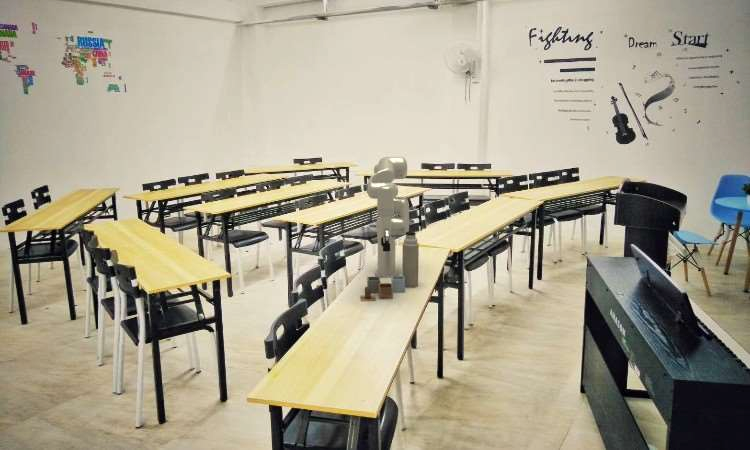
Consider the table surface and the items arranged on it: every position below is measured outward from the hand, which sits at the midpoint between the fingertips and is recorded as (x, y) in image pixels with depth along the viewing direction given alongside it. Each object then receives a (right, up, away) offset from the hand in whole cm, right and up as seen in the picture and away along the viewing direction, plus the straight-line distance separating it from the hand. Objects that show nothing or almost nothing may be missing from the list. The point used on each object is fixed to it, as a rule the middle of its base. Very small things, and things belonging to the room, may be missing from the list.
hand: (385, 248), depth 251 cm
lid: (-8, -25, +3) cm, 26 cm away
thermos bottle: (+13, -20, +21) cm, 32 cm away
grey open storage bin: (-6, -22, +13) cm, 26 cm away
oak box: (0, -24, +5) cm, 24 cm away
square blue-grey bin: (+6, -22, +14) cm, 27 cm away
